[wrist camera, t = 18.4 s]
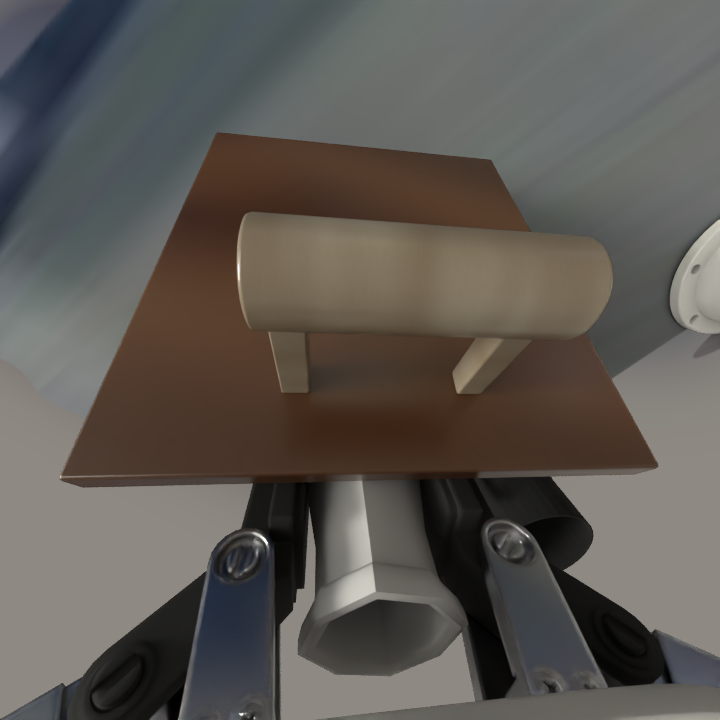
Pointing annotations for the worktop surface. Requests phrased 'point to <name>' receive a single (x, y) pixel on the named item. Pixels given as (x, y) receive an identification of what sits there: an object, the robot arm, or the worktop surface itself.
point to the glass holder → (540, 515)
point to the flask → (375, 581)
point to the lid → (358, 332)
